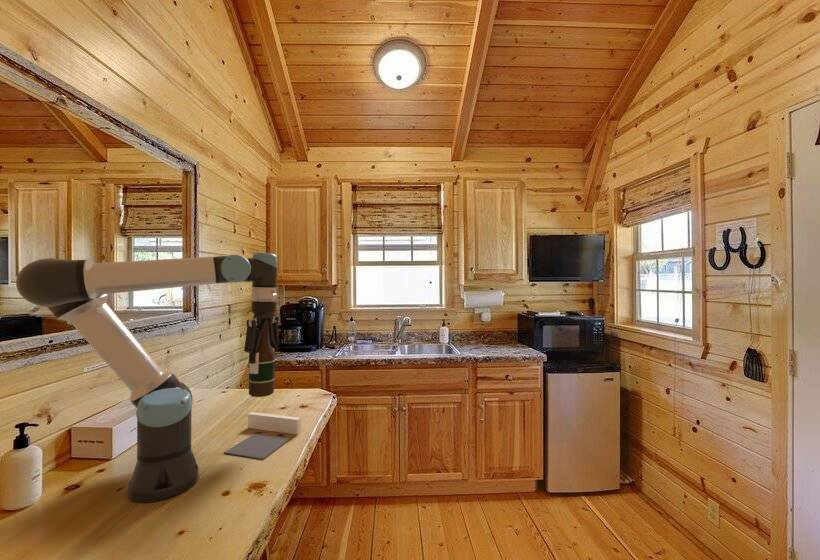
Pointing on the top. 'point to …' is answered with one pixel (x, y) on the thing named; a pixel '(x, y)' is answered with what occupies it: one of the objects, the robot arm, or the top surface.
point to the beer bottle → (263, 368)
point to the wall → (274, 423)
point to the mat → (258, 446)
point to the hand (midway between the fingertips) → (261, 370)
